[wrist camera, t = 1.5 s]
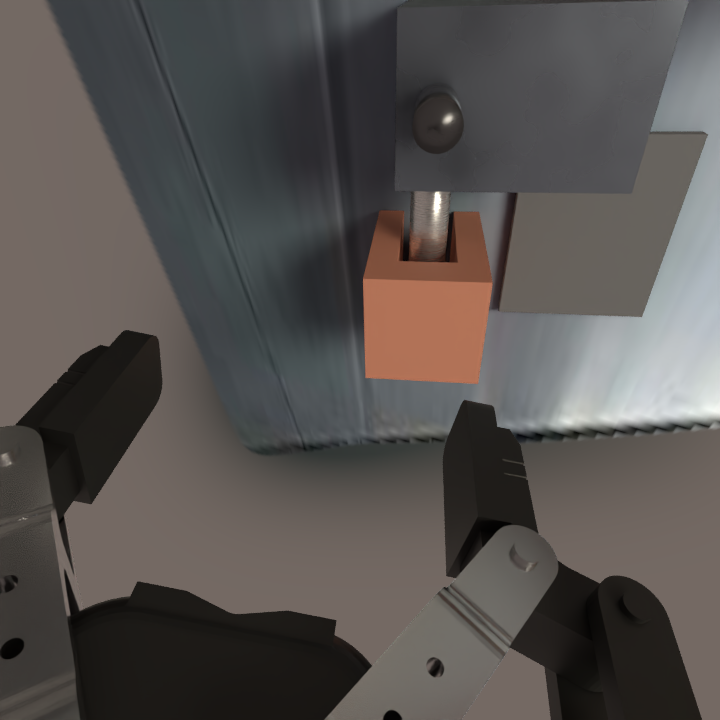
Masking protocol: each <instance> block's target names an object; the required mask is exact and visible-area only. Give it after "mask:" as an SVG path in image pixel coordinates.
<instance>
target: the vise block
mask: <svg viewBox="0 0 720 720" xmlns="http://www.w3.org/2000/svg"><path fill="white" fill-rule="evenodd" d="M688 2H689V0H408V1H407V2H405V3H404V4H403V5H401V6H400V7H398V8H397V61H396V133H395V191H411V205H410V235H409V261H412V262H445V259H446V246H447V234H448V221H449V209H450V197H451V192H513V193H599V194H632V191H633V188H634V184H635V181H636V177H637V174H638V171H639V167H640V164H641V161H642V157H643V154H644V150H645V147H646V144H647V140H648V137H649V134H650V130H651V127H652V123H653V120H654V117H655V113H656V110H657V107H658V103H659V100H660V96H661V93H662V90H663V86H664V83H665V80H666V76H667V73H668V69H669V66H670V63H671V59H672V56H673V53H674V49H675V46H676V42H677V39H678V36H679V32H680V29H681V26H682V22H683V19H684V16H685V12H686V9H687V5H688Z"/></svg>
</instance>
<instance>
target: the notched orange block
mask: <svg viewBox="0 0 720 720" xmlns="http://www.w3.org/2000/svg"><path fill="white" fill-rule="evenodd" d="M403 235H404V211H386V210H380V211H379V215H378V219H377V224H376V228H375V232H374V236H373V240H372V244H371V248H370V252H369V256H368V261H367V265H366V269H365V273H364V277H363V296H364V334H365V371H366V378H380V379H398V380H417V381H436V382H454V383H473V384H478V380H479V373H480V366H481V359H482V352H483V346H484V339H485V332H486V325H487V318H488V311H489V304H490V298H491V291H492V284H493V282H492V277H491V272H490V266H489V261H488V256H487V251H486V246H485V240H484V235H483V230H482V225H481V220H480V214H479V212H454V215H453V227H452V238H451V250H450V261H449V262H412V261H403Z"/></svg>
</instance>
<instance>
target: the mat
mask: <svg viewBox="0 0 720 720" xmlns="http://www.w3.org/2000/svg"><path fill="white" fill-rule="evenodd" d="M707 135H708V134H706V133H704V132H650V134H649V137H648V140H647V144H646V147H645V150H644V154H643V157H642V161H641V164H640V167H639V171H638V174H637V177H636V181H635V184H634V188H633V191H632V194H599V193H516V198H515V204H514V211H513V217H512V223H511V230H510V236H509V242H508V249H507V255H506V261H505V267H504V274H503V280H502V286H501V293H500V299H499V305H498V308H499V311H501V312H528V313H554V314H581V315H608V316H634V317H642V315H643V312H644V310H645V307H646V304H647V301H648V299H649V296H650V293H651V290H652V288H653V285H654V282H655V279H656V276H657V274H658V271H659V268H660V265H661V263H662V260H663V257H664V254H665V252H666V249H667V246H668V243H669V241H670V238H671V235H672V232H673V229H674V227H675V224H676V221H677V218H678V216H679V213H680V210H681V207H682V205H683V202H684V199H685V196H686V194H687V191H688V188H689V185H690V182H691V180H692V177H693V174H694V171H695V169H696V166H697V163H698V160H699V158H700V155H701V152H702V149H703V147H704V144H705V141H706V138H707Z"/></svg>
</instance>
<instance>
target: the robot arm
mask: <svg viewBox="0 0 720 720" xmlns="http://www.w3.org/2000/svg"><path fill="white" fill-rule="evenodd" d="M161 390H162V372H161V360H160V349H159V341H158V339H157V337H156V336H153V335H148V334H144V333H138V332H134V331H129V330H125V331H123V332H122V333H121V334H120V335H119V336H118V337H117V338H116V340H115V341H114V342H113V343H112V344H111V345H110V346H109V347H107V346H103V345H100V346H98V347H96V348H94V349H92V350H90V351H88V352H87V353H85V354H83V355H81V356H80V357H79V358H78V359H77V360H76V361H75V362H74V363H73V364H72V365H71V366H70V368H69V369H68V372H65V373H64V374H63V375H62V376H61V377H60V378H59V379H58V380H57V383H55V384H53V386H52V387H51V388H50V389H49V390H48V391H47V392H46V393H45V394H44V395H43V396H42V397H41V398H40V399H39V401H37V403H36V404H35V405H34V406H33V407H32V408H31V409H30V410H29V411H28V412H27V413H26V414H25V416H23V417H22V418H21V420H20V421H19V422H18V423H17V424H16V425H14V426H5V427H0V720H462V718H463V717H464V715H465V714H466V712H467V711H468V709H469V708H470V706H471V705H472V703H473V702H474V701H475V699H476V698H477V696H478V695H479V693H480V692H481V690H482V689H483V687H484V685H485V684H486V683H487V681H488V679H489V678H490V677H491V675H492V674H493V672H494V671H495V669H496V668H497V666H498V665H499V663H500V662H501V660H502V659H503V657H504V656H505V654H506V653H507V651H508V649H509V648H512V649H514V650H516V651H517V652H519V653H521V654H523V655H525V656H526V657H528V658H530V659H532V660H534V661H535V662H537V663H539V664H541V665H543V666H544V667H545V674H546V682H547V690H548V699H549V706H550V716H551V720H702V718H701V715H700V712H699V709H698V706H697V703H696V700H695V697H694V694H693V691H692V688H691V685H690V681H689V678H688V675H687V672H686V670H685V666H684V663H683V660H682V657H681V654H680V651H679V648H678V645H677V642H676V639H675V636H674V633H673V630H672V627H671V623H670V620H669V618H668V615H667V613H666V611H665V609H664V607H663V605H662V604H661V603H660V602H659V600H658V599H657V598H656V597H655V595H654V594H653V593H652V592H651V591H650V590H648V589H647V588H646V587H645V586H643V585H642V584H640V583H638V582H637V581H635V580H633V579H630V578H627V577H624V576H610V577H608V578H606V579H604V580H603V581H602V582H601V583H600V584H599V583H598V582H596V581H594V580H592V579H590V578H588V577H586V576H584V575H582V574H579V573H578V572H576V571H574V570H572V569H570V568H568V567H566V566H565V565H563V564H562V563H561V562H559V561H558V560H557V557H556V555H555V552H554V550H553V549H552V547H551V546H550V544H549V543H548V542H547V541H546V540H545V539H544V538H543V537H542V536H541V535H539V534H538V530H537V525H536V520H535V515H534V510H533V505H532V500H531V495H530V490H529V485H528V480H526V471H525V466H523V464H524V461H523V456H522V451H521V446H520V444H519V443H518V441H517V440H516V438H515V437H514V435H513V434H512V432H511V431H510V429H505V428H500V427H497V422H496V416H495V410H494V407H493V406H491V405H486V404H482V403H477V402H472V401H467V400H464V401H463V402H462V404H461V406H460V409H459V411H458V414H457V416H456V418H455V421H454V423H453V426H452V428H451V431H450V433H449V436H448V438H447V441H446V445H445V449H444V455H443V480H444V481H443V483H444V512H445V513H444V514H445V545H446V576H448V577H453V578H456V579H455V580H454V581H453V582H452V583H451V584H450V586H448V587H447V588H445V587H444V588H442V589H441V590H440V591H439V592H438V593H437V594H436V595H435V596H434V597H433V599H432V600H431V601H430V602H429V603H428V604H427V605H426V606H425V607H424V609H423V610H422V611H421V612H420V613H419V614H418V616H416V618H415V619H414V620H413V621H412V622H411V623H410V624H409V625H408V627H407V628H406V629H405V630H404V631H403V632H402V633H401V634H400V635H399V637H398V638H397V639H396V640H395V641H394V642H393V643H392V644H391V646H390V647H389V648H388V649H387V650H386V651H385V652H384V653H383V655H382V656H381V657H380V658H379V659H378V660H377V661H376V662H375V664H374V665H373V666H372V665H371V664H370V663H369V662H368V660H367V659H366V658H365V657H364V656H363V655H362V654H361V653H360V652H359V651H358V650H356V649H355V648H354V647H353V646H352V645H350V644H349V643H347V642H346V641H344V640H343V639H341V638H339V637H337V636H335V635H334V633H335V626H336V620H332V619H327V618H322V617H317V616H312V615H307V614H302V613H297V612H291V611H278V612H264V613H249V614H232V613H229V612H227V611H225V610H223V609H221V608H219V607H217V606H215V605H213V604H211V603H209V602H207V601H205V600H203V599H201V598H199V597H197V596H196V595H194V594H192V593H190V592H188V591H184V590H179V589H174V588H169V587H164V586H159V585H154V584H149V583H143V582H137V584H136V586H135V588H134V590H133V592H132V594H131V596H130V597H121V598H117V599H111V600H108V601H104V602H101V603H98V604H95V605H93V606H90V607H88V608H85V609H84V607H83V603H82V599H81V596H80V591H79V586H78V581H77V576H76V570H75V565H74V560H73V553H72V548H71V543H70V537H69V531H68V525H67V520H66V516H65V512H66V511H67V509H68V508H69V506H70V505H71V503H72V502H73V501H78V502H83V503H88V504H92V502H93V501H94V499H95V498H96V496H97V495H98V493H99V492H100V490H101V489H102V487H103V486H104V484H105V483H106V481H107V479H108V478H109V476H110V475H111V473H112V472H113V470H114V468H115V467H116V466H117V464H118V463H119V461H120V459H121V458H122V456H123V455H124V453H125V452H126V450H127V449H128V447H129V446H130V444H131V443H132V441H133V439H134V438H135V436H136V435H137V433H138V432H139V430H140V429H141V427H142V426H143V424H144V423H145V421H146V419H147V418H148V416H149V415H150V413H151V412H152V410H153V409H154V407H155V406H156V404H157V402H158V400H159V397H160V394H161Z"/></svg>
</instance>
